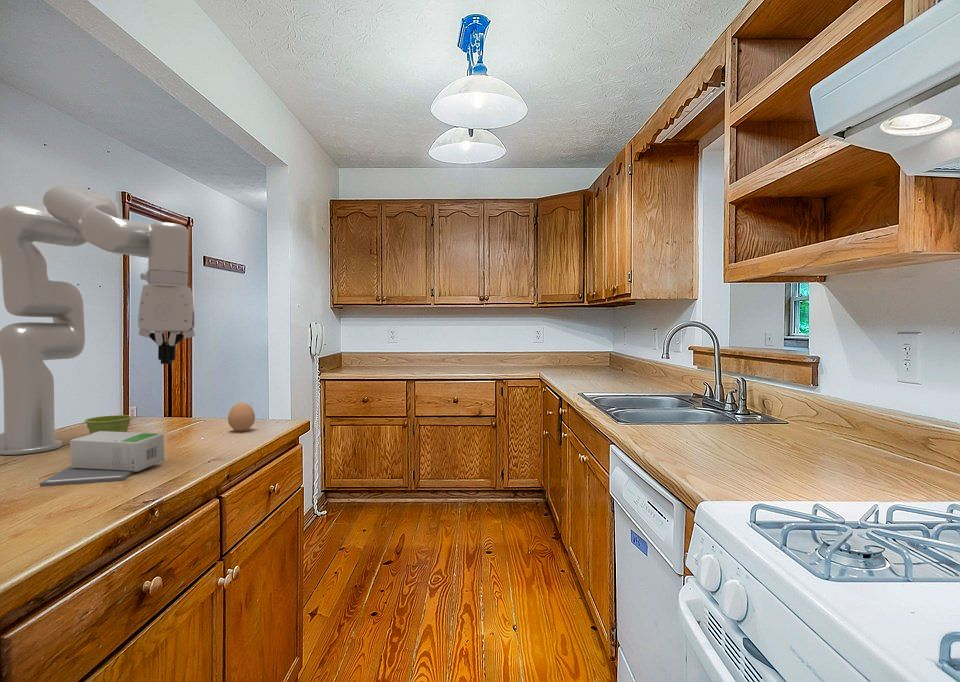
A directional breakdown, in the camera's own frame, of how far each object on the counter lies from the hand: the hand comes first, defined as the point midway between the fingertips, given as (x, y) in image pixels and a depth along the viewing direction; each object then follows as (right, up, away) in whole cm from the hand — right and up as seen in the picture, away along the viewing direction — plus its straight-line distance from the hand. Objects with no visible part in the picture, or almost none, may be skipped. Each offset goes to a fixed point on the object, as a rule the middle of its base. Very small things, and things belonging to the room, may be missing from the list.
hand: (166, 363), depth 116 cm
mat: (-11, -23, -7) cm, 26 cm away
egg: (-1, -22, +40) cm, 45 cm away
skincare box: (-1, -19, -3) cm, 19 cm away
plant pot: (-21, -23, +11) cm, 33 cm away
